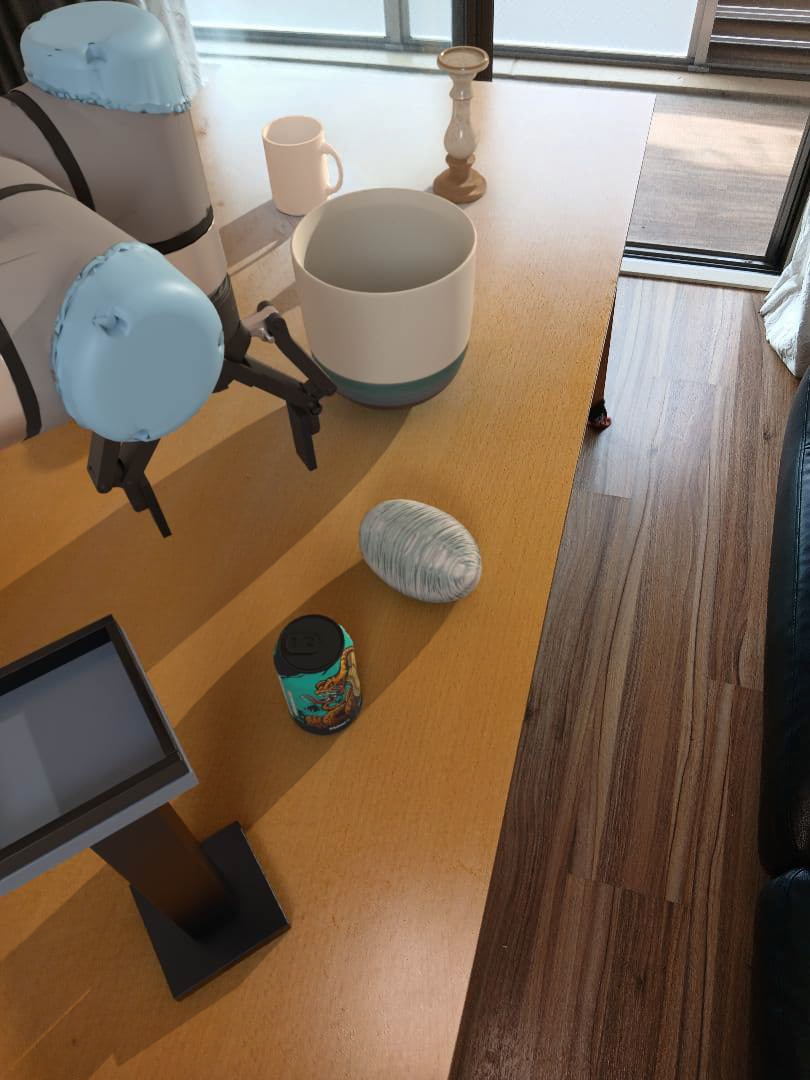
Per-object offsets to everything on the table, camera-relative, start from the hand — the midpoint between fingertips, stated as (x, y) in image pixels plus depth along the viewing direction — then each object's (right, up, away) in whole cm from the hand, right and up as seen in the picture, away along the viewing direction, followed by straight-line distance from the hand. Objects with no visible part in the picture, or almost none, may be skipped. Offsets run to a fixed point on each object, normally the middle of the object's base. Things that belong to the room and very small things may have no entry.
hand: (236, 492), depth 70 cm
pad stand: (-2, -35, -2) cm, 35 cm away
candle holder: (+23, +53, +64) cm, 87 cm away
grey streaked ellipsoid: (+16, -8, +18) cm, 25 cm away
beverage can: (+7, -20, +9) cm, 23 cm away
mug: (-1, +51, +63) cm, 81 cm away
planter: (+13, +16, +36) cm, 41 cm away
